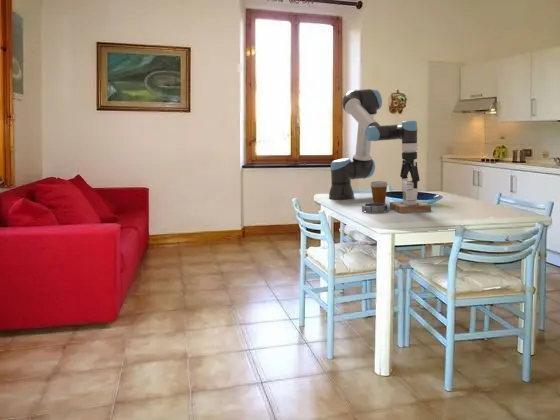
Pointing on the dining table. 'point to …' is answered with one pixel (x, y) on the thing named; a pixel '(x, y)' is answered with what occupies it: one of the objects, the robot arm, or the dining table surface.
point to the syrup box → (408, 194)
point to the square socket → (410, 207)
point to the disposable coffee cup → (379, 191)
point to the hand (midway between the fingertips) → (409, 192)
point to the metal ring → (374, 207)
